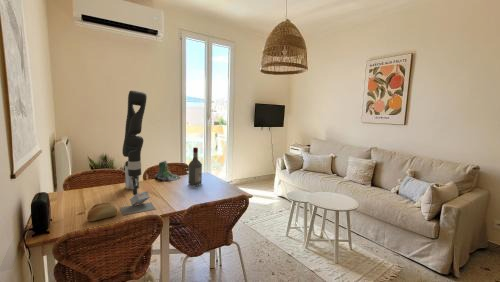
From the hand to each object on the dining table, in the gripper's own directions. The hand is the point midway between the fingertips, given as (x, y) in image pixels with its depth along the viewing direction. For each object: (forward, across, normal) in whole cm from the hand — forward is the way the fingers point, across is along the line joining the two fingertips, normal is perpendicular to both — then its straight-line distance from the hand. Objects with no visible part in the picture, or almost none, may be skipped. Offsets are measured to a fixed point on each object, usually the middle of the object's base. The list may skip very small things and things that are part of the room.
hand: (135, 194), depth 157 cm
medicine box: (+4, 0, 0) cm, 4 cm away
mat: (+6, -8, 0) cm, 10 cm away
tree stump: (+6, +47, -34) cm, 59 cm away
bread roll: (+7, -12, +19) cm, 23 cm away
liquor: (+6, +22, -49) cm, 54 cm away
